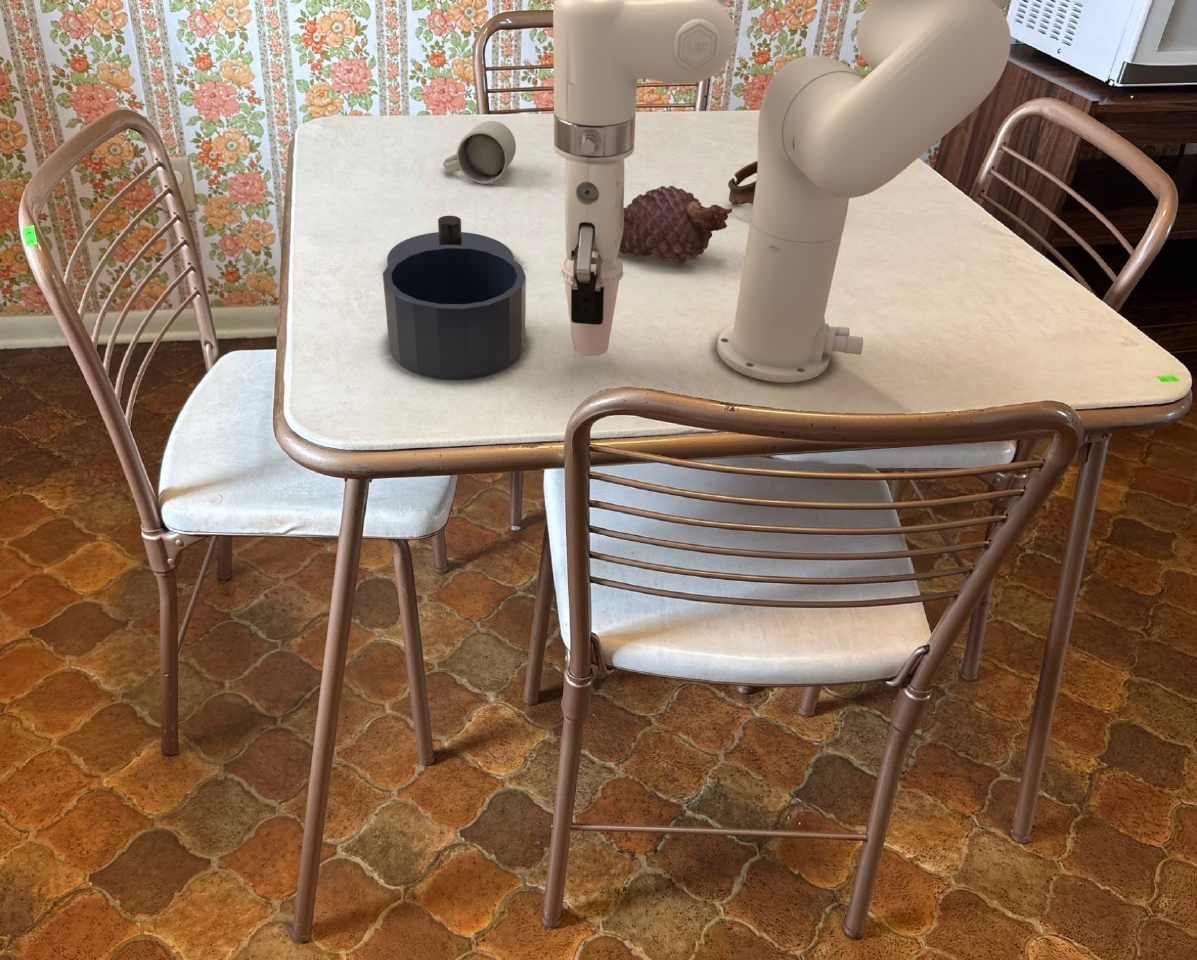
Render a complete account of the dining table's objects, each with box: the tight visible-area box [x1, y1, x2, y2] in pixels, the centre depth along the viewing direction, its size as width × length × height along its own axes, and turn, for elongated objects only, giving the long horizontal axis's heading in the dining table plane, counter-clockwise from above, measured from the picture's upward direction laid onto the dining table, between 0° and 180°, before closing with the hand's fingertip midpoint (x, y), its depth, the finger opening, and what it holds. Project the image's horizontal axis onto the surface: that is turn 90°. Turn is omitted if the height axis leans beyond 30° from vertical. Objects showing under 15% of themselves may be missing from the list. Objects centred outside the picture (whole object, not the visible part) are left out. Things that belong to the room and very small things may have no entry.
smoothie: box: [560, 252, 624, 357], centre depth 102 cm, size 6×6×14 cm
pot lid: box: [386, 215, 515, 265], centre depth 123 cm, size 16×16×6 cm
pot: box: [382, 245, 527, 381], centre depth 107 cm, size 15×15×8 cm
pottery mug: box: [727, 160, 758, 206], centre depth 143 cm, size 12×10×8 cm
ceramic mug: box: [442, 120, 517, 185], centre depth 147 cm, size 11×8×8 cm
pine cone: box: [619, 185, 733, 264], centre depth 128 cm, size 18×10×10 cm
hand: (591, 304), depth 103 cm, fingers closed on smoothie, 6 cm apart
